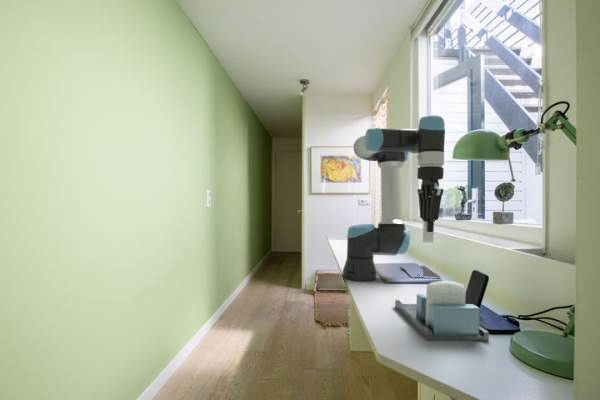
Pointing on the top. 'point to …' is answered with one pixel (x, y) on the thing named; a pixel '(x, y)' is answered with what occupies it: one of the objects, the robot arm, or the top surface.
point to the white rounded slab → (444, 294)
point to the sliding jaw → (421, 307)
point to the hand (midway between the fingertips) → (427, 242)
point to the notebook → (428, 272)
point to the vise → (447, 322)
